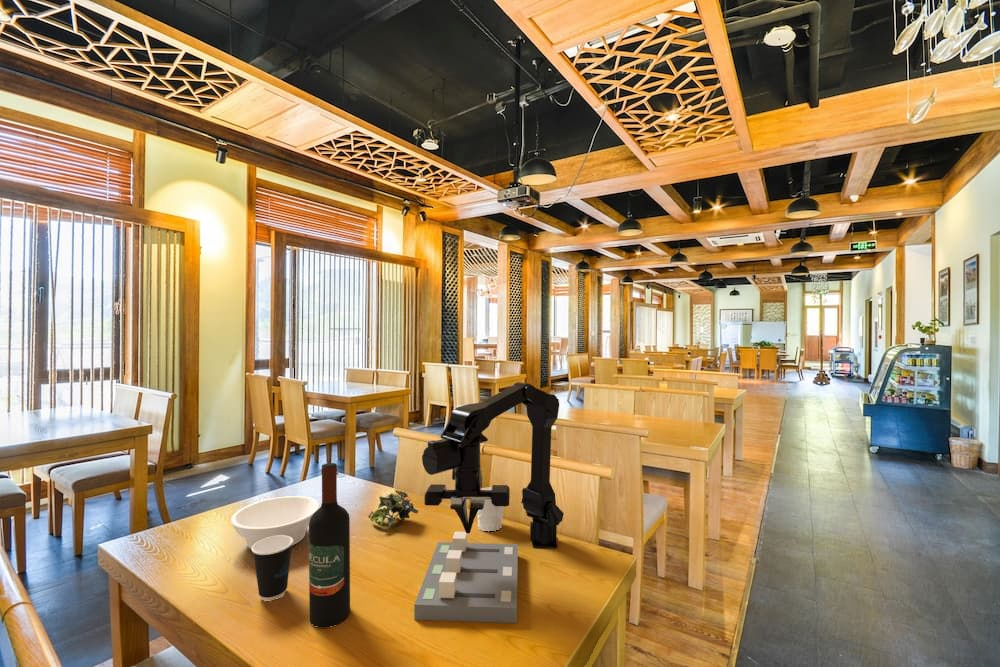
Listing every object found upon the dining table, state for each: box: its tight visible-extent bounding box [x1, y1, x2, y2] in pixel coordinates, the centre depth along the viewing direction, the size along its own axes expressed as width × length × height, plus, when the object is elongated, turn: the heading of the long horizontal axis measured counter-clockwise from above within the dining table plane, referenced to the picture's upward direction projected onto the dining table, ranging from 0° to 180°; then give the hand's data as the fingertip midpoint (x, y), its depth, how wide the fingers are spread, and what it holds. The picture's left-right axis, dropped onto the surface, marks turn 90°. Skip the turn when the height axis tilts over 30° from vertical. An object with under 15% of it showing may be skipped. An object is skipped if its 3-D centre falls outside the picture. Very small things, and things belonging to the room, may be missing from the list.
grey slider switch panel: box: [413, 541, 519, 624], centre depth 99 cm, size 20×25×3 cm
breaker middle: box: [446, 550, 462, 573], centre depth 99 cm, size 3×4×3 cm
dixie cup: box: [250, 535, 293, 601], centre depth 95 cm, size 8×8×11 cm
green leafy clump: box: [368, 490, 419, 531], centre depth 128 cm, size 11×11×12 cm
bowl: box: [230, 495, 321, 550], centre depth 119 cm, size 21×21×8 cm
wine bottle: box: [308, 462, 351, 628], centre depth 88 cm, size 8×8×30 cm
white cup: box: [476, 486, 504, 533], centre depth 127 cm, size 8×8×10 cm
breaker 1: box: [439, 572, 456, 598], centre depth 90 cm, size 3×4×3 cm
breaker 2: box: [452, 531, 468, 552], centre depth 108 cm, size 3×4×3 cm
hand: (468, 532), depth 101 cm, fingers closed
